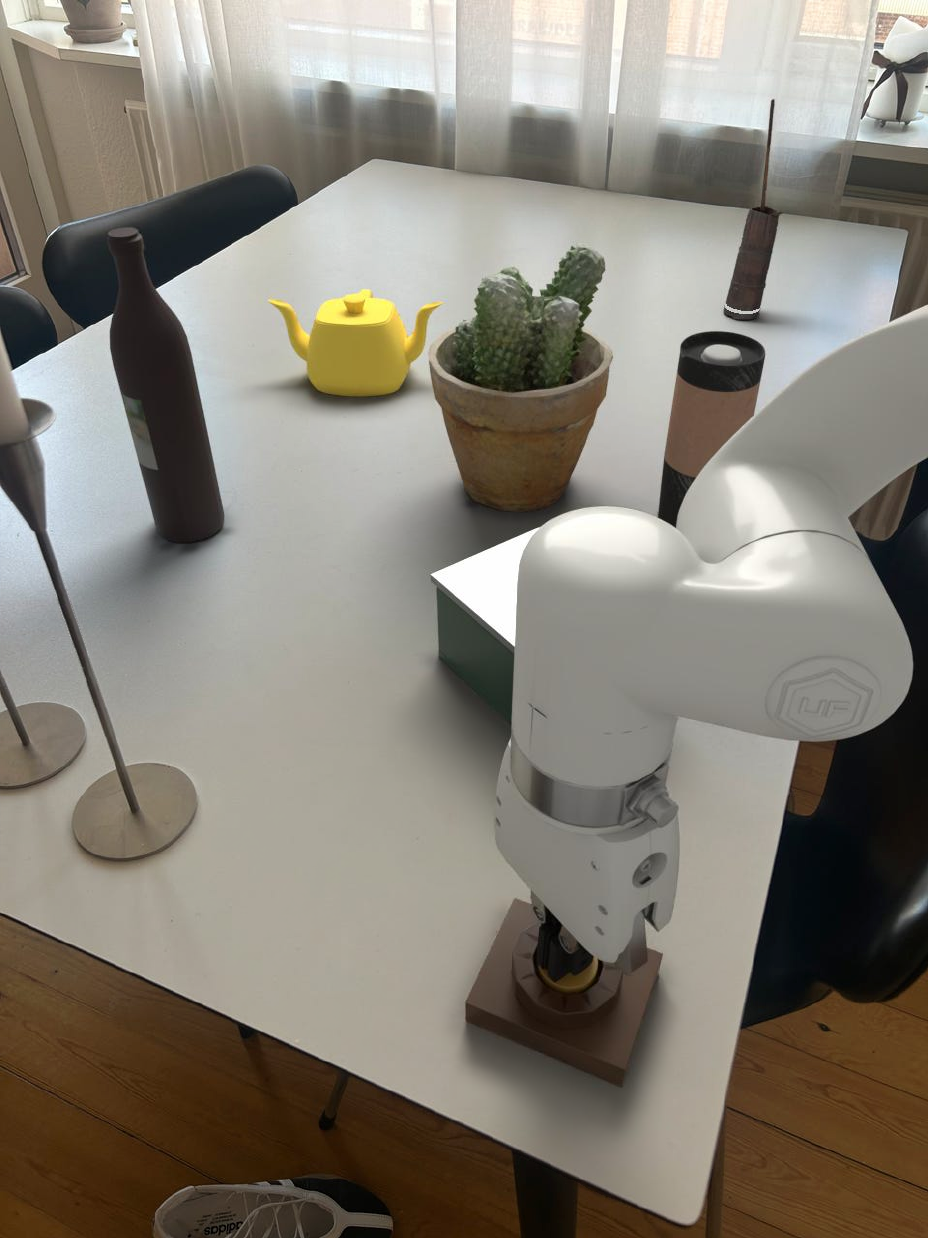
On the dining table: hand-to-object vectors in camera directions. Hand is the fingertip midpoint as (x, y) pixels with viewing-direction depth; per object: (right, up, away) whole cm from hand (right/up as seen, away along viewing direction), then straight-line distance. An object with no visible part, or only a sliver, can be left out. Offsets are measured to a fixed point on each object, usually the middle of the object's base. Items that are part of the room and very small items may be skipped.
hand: (565, 959), depth 58 cm
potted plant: (-1, +35, +49) cm, 60 cm away
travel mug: (+17, +29, +42) cm, 54 cm away
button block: (0, -3, +3) cm, 4 cm away
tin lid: (0, +22, +21) cm, 30 cm away
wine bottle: (-35, +30, +43) cm, 63 cm away
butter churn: (+36, +65, +84) cm, 112 cm away
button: (0, -1, +1) cm, 2 cm away
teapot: (-20, +53, +70) cm, 90 cm away
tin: (0, +16, +25) cm, 30 cm away
